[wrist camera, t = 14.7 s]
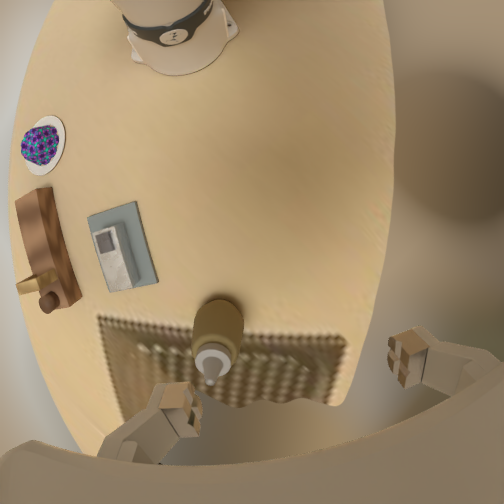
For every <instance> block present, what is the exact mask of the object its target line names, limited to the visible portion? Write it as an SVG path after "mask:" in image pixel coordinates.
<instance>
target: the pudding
mask: <svg viewBox="0 0 504 504" xmlns="http://www.w3.org/2000/svg"><path fill="white" fill-rule="evenodd" d="M50 125H53V126H55V127H56V128H55V127H50ZM56 129H57V130H58V133H59V136H58V135H56V133H57V130H56ZM64 142H65V131H64V127H63V124H62V122H61V121H60V119H58V118H57V117H55V116H46V117H43V118H42V119H40V120H39V121H38V122H37V123H36V124H35V125H34V126H33V128H32V129H30V131H28V132H27V133H26V134H25V135H24V139H23V140H22V143H21V147H22V148H21V153H22V155H23V156H24V158H25V161H26V164H27V167H28V169H29V170H30V171H31V172H32V173H33V174H35V175H39V176H41V175H45V174H47V173H48V172H50V171H51V170H52V169H53V168H54V167H55V165H56V164H57V162H58V161H59V159H60V156H61V154H62V151H63V148H64ZM58 143H59V147H58V150H57V147H56V146H57V145H58ZM56 152H57V153H56ZM55 154H56V155H55ZM54 156H55V157H54ZM52 157H54V158H53V160H52V161H51V162H50V160H51V158H52ZM49 162H50V163H49ZM48 163H49V164H48ZM42 164H44V165H45V166H41V165H42ZM46 164H47V165H46ZM38 165H40V166H38Z"/></svg>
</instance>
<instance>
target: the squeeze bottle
mask: <svg viewBox="0 0 504 504" xmlns="http://www.w3.org/2000/svg"><path fill="white" fill-rule="evenodd" d="M243 329H244V320H243V318H242V316H241V313H240V312H239V311H238V309H237V308H236V307H235V306H234V305H233V304H232V303H230V302H229V301H226V300H224V299H216V300H213V301H211V302H209V303H207V304H205V305H204V306H203V307H202V308H200V309H199V310H198V311H197V314H196V316H195V319H194V327H193V335H192V344H191V351H192V356H193V357H194V359H195V364H196V367H197V368H198V370H199V371H200V372H202V373H203V374H204V377H205V383H206V384H207V385H211V386H212V385H214V384H215V382H216V380H217V378H218V376H222V375H224V374H226V373H227V372H228V371H229V369H230V367H231V366H232V365H233V364H234V363H235V362H236V360H237V358H238V355H239V350H240V345H241V340H242V334H243Z"/></svg>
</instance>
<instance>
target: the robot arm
mask: <svg viewBox="0 0 504 504" xmlns="http://www.w3.org/2000/svg"><path fill="white" fill-rule="evenodd" d="M110 1H111V2H112V3H113V4H114V5H115V6H116V7H117V8H118V9H119V10H120V11H121V12H122V13H123V19H124V21H125V23H126V25H127V27H128V32H129V35H128V36H127V39H128V41H129V42H130V44H131V45H132V47H133V48H132V55H131V58H132V60H133V61H134V62H136V63H141V64H146V65H148V66H150V67H151V68H152V69H153V70H155V71H157V72H159V73H162V74H165V75H185V74H190V73H193V72H196V71H198V70H200V69H202V68H204V67H206V66H208V65H209V64H210V63H212V62H213V61H214V60H215V59H216V58H217V57H218V56H219V55H220V53H221V52H222V50H223V48H224V47H225V45H226V43H227V42H228V41H230V40H231V39H232V38H234V37H235V36H236V35H237V34H238V32H239V30H238V27H237V25H236V23H235V22H234V20H233V18H232V17H231V15H230V14H229V12H228V10H227V9H226V7H225V6H224V4H223V3H222V1H221V0H110ZM228 25H230V27H227V26H228ZM388 346H389V347H390V348H391V349H390V351H389V352H388V356H387V360H388V365H389V368H390V370H391V371H392V373H393V374H396V375H398V381H399V383H400V384H401V385H402V387H403V388H404V389H406V388H409V387H411V386H414V385H416V384H418V383H422V384H425V385H427V386H429V387H431V388H433V389H436V390H438V391H440V392H442V393H445V394H447V395H449V396H452V397H450V398H448V399H447V400H445V401H443V402H441V403H439V404H438V405H436V406H434V407H432V408H430V409H428V410H426V411H424V412H422V413H420V414H418V415H416V416H414V417H412V418H409V419H407V420H405V421H403V422H400V423H398V424H396V425H393V426H391V427H389V428H386V429H383V430H381V431H378V432H376V433H373V434H370V435H367V436H364V437H361V438H358V439H355V440H352V441H349V442H346V443H343V444H339V445H336V446H332V447H329V448H325V449H321V450H317V451H313V452H309V453H304V454H300V455H295V456H289V457H284V458H278V459H272V460H265V461H258V462H250V463H241V464H228V465H209V466H172V465H157V464H158V463H159V462H160V461H161V459H162V458H163V457H164V456H165V455H166V454H167V453H168V452H169V450H170V449H171V448H172V447H173V446H174V445H175V443H176V442H177V441H178V440H179V439H180V437H198V436H199V433H200V427H201V424H200V422H199V419H200V418H201V417H202V412H203V411H202V404H201V400H200V398H199V396H197V395H196V394H195V393H194V392H195V387H194V385H193V383H192V382H178V383H163V384H157V385H155V387H154V390H153V392H152V395H151V397H150V400H149V403H148V405H147V408H146V409H143V410H141V411H140V412H139V413H137V414H136V415H135V416H133V417H132V418H131V419H130V420H128V421H127V422H126V423H124V424H123V425H121V426H120V427H119V428H117V429H116V430H115V431H113V432H112V433H111V434H109V435H108V436H106V437H105V439H104V441H103V443H102V445H101V448H100V450H99V452H98V454H97V457H95V456H90V455H86V454H81V453H77V452H73V451H69V450H66V449H62V448H58V447H55V446H52V445H48V444H46V443H43V442H40V441H36V440H31V441H28V442H25V443H23V444H21V445H19V446H17V447H15V448H13V449H11V450H9V451H8V452H6V453H5V454H4V455H3V456H2V457H1V458H0V504H504V362H502V363H501V362H500V361H499V360H498V359H497V358H495V357H494V356H493V355H492V354H491V353H489V352H488V351H487V350H483V349H478V348H473V347H468V346H463V345H458V344H454V343H449V342H444V341H443V342H439V341H438V340H437V339H436V338H435V337H433V335H432V334H430V333H429V332H428V331H427V330H426V329H425V328H423V326H421V325H418V326H416V327H413V328H411V329H409V330H407V331H404V332H402V333H399V334H396V335H394V336H391V337H390V338H389V340H388Z"/></svg>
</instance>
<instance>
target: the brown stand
mask: <svg viewBox="0 0 504 504" xmlns="http://www.w3.org/2000/svg"><path fill="white" fill-rule="evenodd" d="M15 206H16V211H17V216H18V221H19V225H20V230H21V234H22V238H23V242H24V246H25V249H26V253H27V257H28V260H29V263H30V266H31V270H32V273H33V275H32V276H30V277H28V278H26V279H25V280H23V281H21V282H19V283H17V284H16V287H17V290H18V292H19V295H22V294H26V293H30V292H35V291H39V293H40V295H41V298H40V299H39V305H40V308H41V309H42V311H43V312H44V313H46V314H49V313H51V312H52V311H53V310H55V309H61V308H67V307H70V306H72V305H73V304H74V303H75V302H76V301H78V300H79V299H80V298H81V297H82V294H81V292H80V289H79V286H78V283H77V281H76V278H75V275H74V272H73V269H72V266H71V263H70V259H69V256H68V253H67V249H66V246H65V242H64V239H63V235H62V231H61V227H60V223H59V219H58V214H57V210H56V205H55V200H54V195H53V190H52V187H51V188H40V189H35V190H33V191H31V192H30V193H28V194H26V195H24V196H23V197H21V198H19V199H18V200H16V201H15Z"/></svg>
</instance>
